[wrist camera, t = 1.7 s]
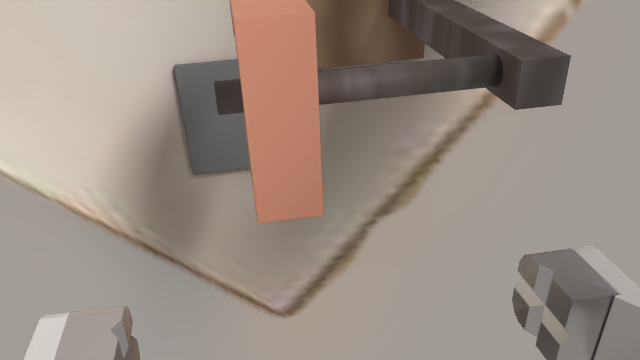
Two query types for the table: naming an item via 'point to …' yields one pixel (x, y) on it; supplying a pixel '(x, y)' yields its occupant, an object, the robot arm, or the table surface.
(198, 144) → the coaster
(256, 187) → the link
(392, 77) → the stand
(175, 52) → the table surface
